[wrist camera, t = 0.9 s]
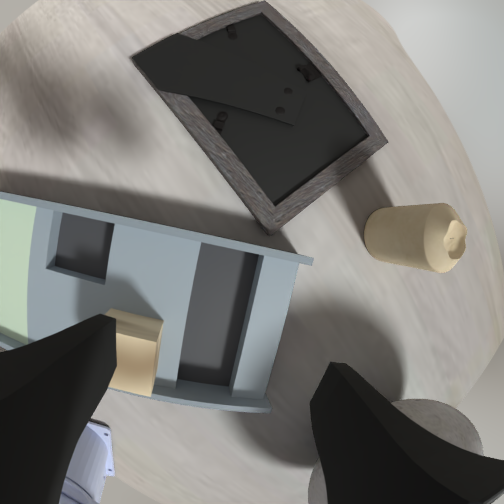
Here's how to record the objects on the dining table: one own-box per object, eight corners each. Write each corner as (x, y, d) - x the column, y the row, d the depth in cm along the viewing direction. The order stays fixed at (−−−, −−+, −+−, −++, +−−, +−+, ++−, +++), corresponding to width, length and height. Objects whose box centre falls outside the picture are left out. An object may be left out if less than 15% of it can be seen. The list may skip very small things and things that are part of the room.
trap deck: (262, 393, 25) (270, 413, 22) (-10, 322, 19) (-28, 331, 16) (298, 254, 25) (313, 258, 21) (-2, 190, 18) (-22, 187, 15)
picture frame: (135, 67, 21) (266, 235, 25) (131, 57, 19) (272, 235, 23) (261, 8, 22) (380, 145, 26) (265, -2, 20) (390, 141, 24)
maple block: (157, 368, 21) (150, 397, 17) (107, 356, 20) (91, 381, 16) (163, 320, 21) (156, 342, 17) (111, 308, 20) (92, 326, 16)
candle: (354, 222, 26) (428, 221, 16) (392, 199, 26) (465, 191, 17) (374, 271, 26) (446, 289, 17) (409, 245, 27) (480, 253, 17)
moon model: (252, 450, 26) (306, 594, 6) (389, 339, 28) (530, 417, 8) (330, 494, 29) (384, 577, 10) (428, 413, 31) (510, 473, 12)
